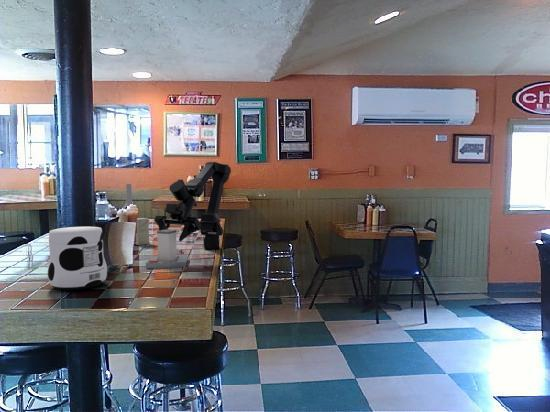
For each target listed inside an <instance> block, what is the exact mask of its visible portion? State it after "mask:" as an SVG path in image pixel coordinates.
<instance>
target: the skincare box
mask: <svg viewBox="0 0 550 412" xmlns="http://www.w3.org/2000/svg"><path fill="white" fill-rule="evenodd" d="M149 223H150V222H149V218H146V217H137V233H136V243H135V244H136V246H140V245H141V246H142V245H147V244H149V245H150V227H149V225H150V224H149ZM135 244H134V245H135Z"/></svg>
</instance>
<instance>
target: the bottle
mask: <svg viewBox="0 0 550 412" xmlns="http://www.w3.org/2000/svg"><path fill="white" fill-rule="evenodd" d="M125 185H126V186H125V188H126V201H125V202H126V203H125V204H124V205H123V208H122V210H123V209H124V208H126V207H127V206H129V205H130V204H133V205H135V204H134V202H133V195H132V194H133V193H132V183H125Z"/></svg>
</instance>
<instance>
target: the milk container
mask: <svg viewBox="0 0 550 412" xmlns="http://www.w3.org/2000/svg"><path fill="white" fill-rule="evenodd" d="M103 239H104V234H103V229H102V227H99V226H71V227H69V226H68V227H61V228H55V229H51V230H49V232H48V242H49V245H48V248H49V249H48V250H49V263H48V267H47V278H48V279H47V281H48V283H49V285H50V286H51V287H52V288H54V289H58V290H63V291H64V290H65V291H74V290H75V291H76V290H85V289H90V288H93V287H96V286H99V285H101V284H103V283H104V282H105V281H106V279H107V277H108V266H107V262H106V260H105V256H104V240H103Z"/></svg>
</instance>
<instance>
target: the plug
mask: <svg viewBox="0 0 550 412" xmlns="http://www.w3.org/2000/svg"><path fill="white" fill-rule="evenodd" d="M156 235H157V237H156V238H157V256H158V261H177V255H178V254H177V253H178V252H177V251H178V250H177V249H178V248H177V245H178V244H177V229H168V230H167V229H165V230H160V231H159V230H157V231H156Z"/></svg>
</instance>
